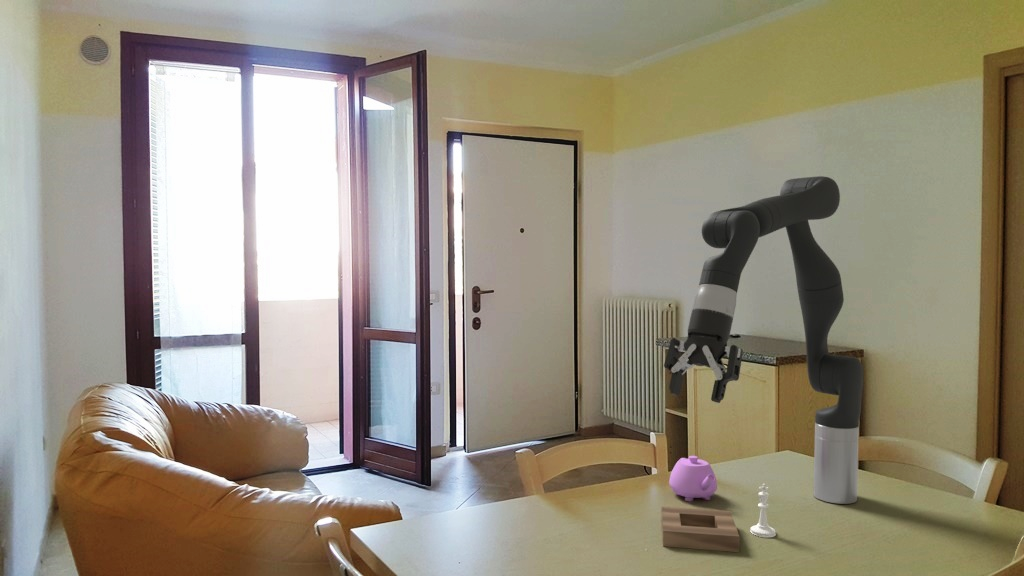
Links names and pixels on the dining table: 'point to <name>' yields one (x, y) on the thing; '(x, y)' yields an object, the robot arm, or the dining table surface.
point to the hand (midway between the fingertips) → (694, 398)
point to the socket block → (699, 529)
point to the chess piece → (763, 517)
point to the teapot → (693, 479)
